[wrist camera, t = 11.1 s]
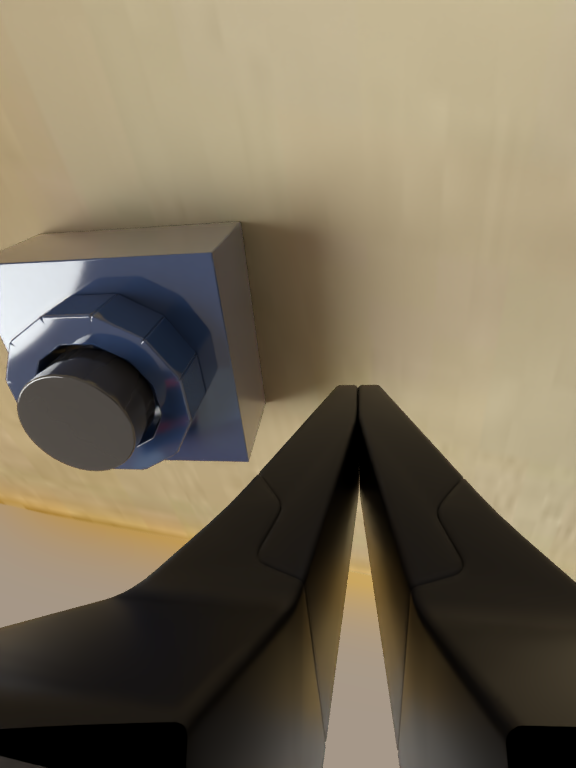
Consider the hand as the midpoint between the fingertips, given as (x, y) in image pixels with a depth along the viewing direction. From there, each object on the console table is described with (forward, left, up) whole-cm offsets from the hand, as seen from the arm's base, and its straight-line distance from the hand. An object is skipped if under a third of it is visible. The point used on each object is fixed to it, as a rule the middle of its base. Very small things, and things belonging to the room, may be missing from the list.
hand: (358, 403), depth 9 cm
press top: (-4, +10, -6) cm, 12 cm away
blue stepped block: (-4, +10, -13) cm, 17 cm away
